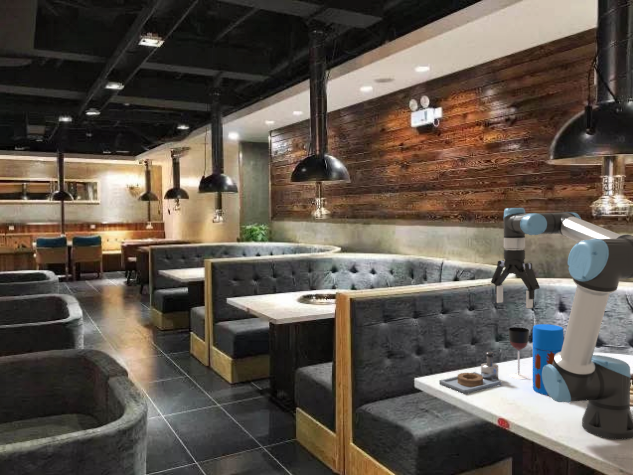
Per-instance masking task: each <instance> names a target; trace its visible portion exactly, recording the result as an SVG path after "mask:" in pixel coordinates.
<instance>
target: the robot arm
mask: <svg viewBox="0 0 633 475" xmlns="http://www.w3.org/2000/svg"><path fill="white" fill-rule="evenodd" d="M502 219H503V248H504V250H503V259H504V260H498V261H497V266H496V267H495V268H496V269H495V271H494V274H493V276H492V278H491V280H490V284H493V285H494V286H495V289H494V290H495V294H496V303H497V304H499V303H503V302H504V286H503V283H504V282H505V280H506V279H507V278H508V276H510V274H513V275H517V276H518V277H520V280H521V281H522V283H523V284H524V285H525V287H526V288H527V290H525V292H526V293H525V294H526V296H525V297H526V298H525V302H526V303H525V306H526V307H525V308H526V309H533V308H534V300H535V291H536V290H539V289H540V285H539V282H538V279H537V277H536V275H535V272H534V269H533V264H532V262H526V263H525V259H526V250H525V247H526V235H529V236H539V235H556V234H557V235H561V236H563V237H566V238H568V239H570V240H572V241H575V242H576V243H575V244H574V245H573V246H572V248H571V250H570V252H569V254H568V258H567V266H568V271H569V272H568V273H569V274H570V277H572V282H574V283H573V284H575V285H576V288H575V293H574V297H573V300H572V305H571V309H570V313H569V317H568V318H569V319H568V322H567V326H566V329H565V330H566V331H565V333H564V337H563V346H562V350H561V352H558V353H557V354H555V356H554V360H553V364H548V365H546V366H544V367H543V370H542V380H543V384H544V387H545V389H546V391H547V393H548V394H549V395H548V396H549V397H550V398H551V400H553V401H554V402H557V403H568V404H570V403H574V402H586V401H587V402H588V404H587V405H586V408H585V411H584V412H583V415H582V420H581V426H582V429H584V430H585V431H586V432H587V433H590V434H592V435H594V436H597V437H600V438H605V439H609V440H617V441H619V440H620V441H621V440H622V441H623V440H630V439H633V414H632V410H631V380H632V379H631V378H632V375H631V367H630V365H629V363H627V362H626V361H624V360H621V359H618V358H617V357H616V358H615V357H612V356H611V357H610V356H605V355H600V354H594V352H595V349H596V346H597V342H598V337H599V334H600V330H601V327H602V322H603V319H604V314H605V311H606V308H607V304H608V300H609V297H610V294H612V293H614V292H616V291H617V290H618V286H619V283H620V280H630V279H633V235H632V234H626V233H625V234H619V233H617V232H614V231H612V230H609V229H607V228H603V227H602V226H598V225H596V224H594V223H591V222H588V221H586V220H583V219H582V218H581V216H580V215H579V214H578V213H577V212H569V211H567V212H566V211H565V212H540V213H538V212H537V213H536V212H533V213H532V212H530V213H528V212H526V209H525V208H524V207H506V208H504V211H503V218H502Z"/></svg>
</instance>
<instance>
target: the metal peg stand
mask: <svg viewBox="0 0 633 475" xmlns="http://www.w3.org/2000/svg"><path fill="white" fill-rule="evenodd" d="M494 354H495V353H494V352H492V351H485V356H486V362H484V363H481V364H480V365H481V366H480V374H481V376H483V379H485V380H491V378H494V379H496V380H499V365H498V364H497V363H494V360H493V359H494V356H495V355H494ZM499 381H500V380H499Z"/></svg>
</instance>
